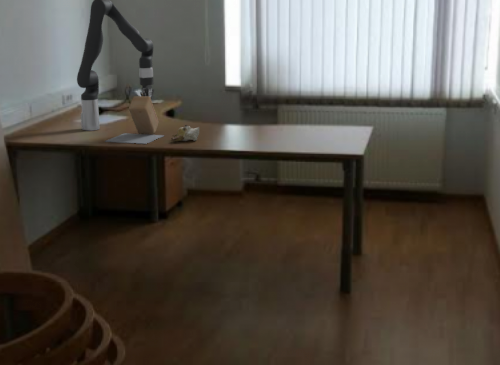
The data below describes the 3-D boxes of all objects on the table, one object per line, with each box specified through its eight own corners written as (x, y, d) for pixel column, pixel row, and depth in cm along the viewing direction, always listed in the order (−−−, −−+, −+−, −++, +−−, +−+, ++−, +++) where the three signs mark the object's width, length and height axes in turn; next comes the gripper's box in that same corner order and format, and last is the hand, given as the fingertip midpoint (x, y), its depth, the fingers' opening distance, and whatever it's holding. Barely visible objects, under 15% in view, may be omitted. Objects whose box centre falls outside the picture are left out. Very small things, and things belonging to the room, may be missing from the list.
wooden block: (154, 135, 428) (145, 109, 413) (137, 134, 431) (127, 108, 415) (159, 121, 434) (150, 95, 419) (142, 121, 437) (133, 95, 422)
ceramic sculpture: (198, 125, 405) (169, 127, 405) (199, 142, 407) (171, 144, 407) (199, 122, 415) (171, 124, 416) (201, 138, 418) (173, 140, 418)
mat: (104, 141, 412) (104, 140, 412) (124, 133, 432) (124, 133, 432) (146, 144, 405) (145, 143, 405) (164, 136, 425) (164, 135, 425)
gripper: (145, 74, 433) (147, 105, 437) (134, 77, 421) (136, 109, 425) (157, 74, 431) (159, 106, 435) (147, 77, 419) (148, 109, 423)
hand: (147, 107), depth 430 cm, fingers closed
